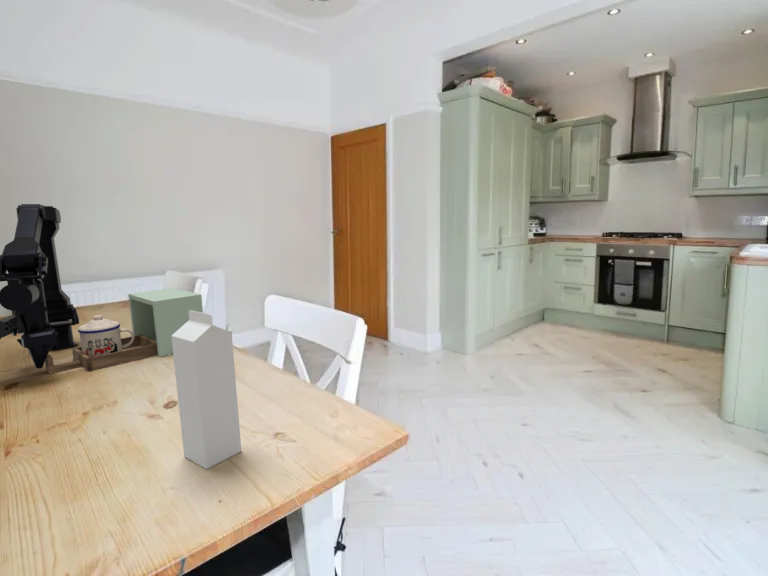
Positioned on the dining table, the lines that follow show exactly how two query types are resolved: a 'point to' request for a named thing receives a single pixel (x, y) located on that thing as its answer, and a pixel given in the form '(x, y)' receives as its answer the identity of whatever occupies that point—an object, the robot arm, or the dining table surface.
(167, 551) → the dining table surface
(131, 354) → the tray
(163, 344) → the shelf
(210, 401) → the milk
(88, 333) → the teacup with lid
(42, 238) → the robot arm
